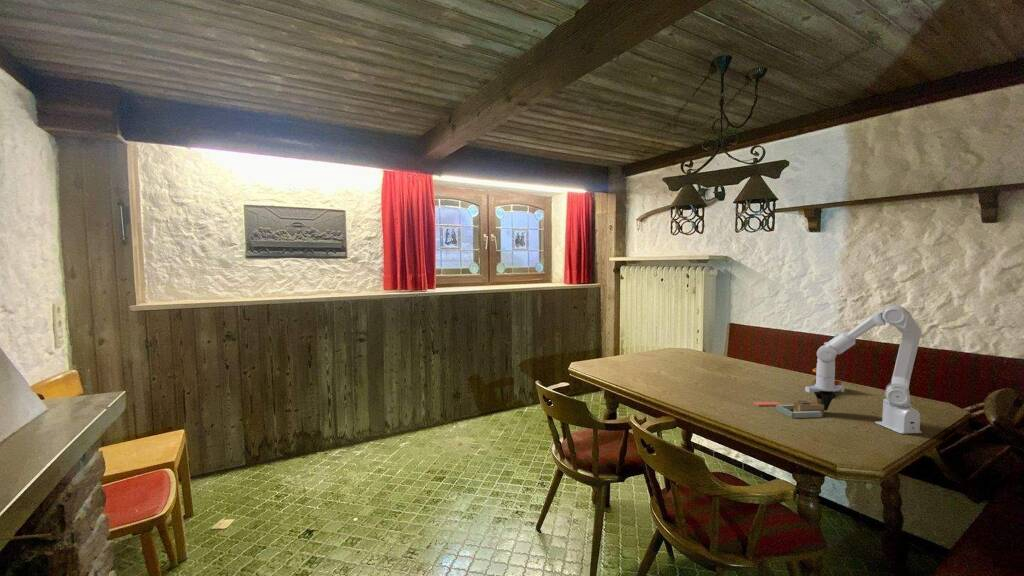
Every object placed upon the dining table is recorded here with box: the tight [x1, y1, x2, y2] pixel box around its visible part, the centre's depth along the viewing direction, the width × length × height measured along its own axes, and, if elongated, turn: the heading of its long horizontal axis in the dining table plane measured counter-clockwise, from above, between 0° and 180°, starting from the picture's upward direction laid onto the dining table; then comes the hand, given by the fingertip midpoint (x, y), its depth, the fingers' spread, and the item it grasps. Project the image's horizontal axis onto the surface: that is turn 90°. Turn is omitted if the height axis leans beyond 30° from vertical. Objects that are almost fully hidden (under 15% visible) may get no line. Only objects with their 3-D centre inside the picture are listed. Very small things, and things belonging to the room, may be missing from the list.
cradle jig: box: [775, 404, 823, 419], centre depth 157 cm, size 8×12×2 cm
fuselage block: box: [792, 398, 825, 416], centre depth 157 cm, size 4×9×6 cm, turn 87°
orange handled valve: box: [809, 367, 842, 393], centre depth 181 cm, size 8×21×14 cm, turn 123°
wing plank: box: [752, 401, 783, 407], centre depth 167 cm, size 10×4×1 cm, turn 90°
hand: (823, 409), depth 158 cm, fingers closed
